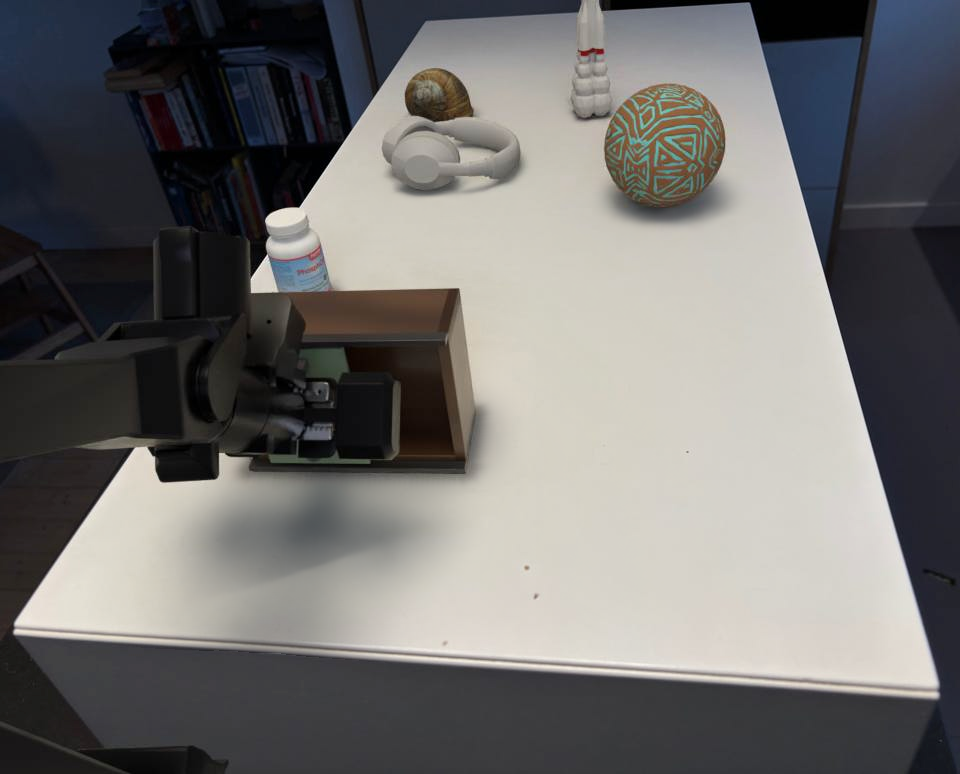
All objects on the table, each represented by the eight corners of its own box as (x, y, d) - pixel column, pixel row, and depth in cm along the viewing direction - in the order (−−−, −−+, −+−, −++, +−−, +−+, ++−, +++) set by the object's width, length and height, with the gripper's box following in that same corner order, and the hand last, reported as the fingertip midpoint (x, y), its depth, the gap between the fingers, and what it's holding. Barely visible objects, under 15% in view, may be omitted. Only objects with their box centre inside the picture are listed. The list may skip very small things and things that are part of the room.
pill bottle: (318, 320, 93) (295, 232, 86) (273, 313, 95) (247, 227, 88) (343, 292, 97) (323, 206, 90) (300, 286, 99) (276, 202, 92)
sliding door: (360, 495, 69) (329, 378, 61) (257, 493, 71) (213, 379, 63) (371, 459, 73) (343, 344, 65) (272, 458, 74) (233, 345, 66)
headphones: (403, 205, 112) (537, 191, 118) (402, 150, 108) (541, 138, 114) (373, 159, 126) (494, 148, 132) (370, 108, 122) (496, 99, 127)
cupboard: (465, 473, 71) (445, 339, 62) (249, 471, 74) (200, 343, 65) (476, 412, 78) (459, 283, 69) (276, 413, 81) (235, 289, 72)
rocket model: (597, 125, 130) (595, -89, 112) (560, 118, 134) (552, -90, 116) (622, 110, 134) (624, -99, 116) (585, 103, 138) (581, -100, 120)
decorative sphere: (738, 188, 108) (751, 74, 99) (688, 238, 100) (697, 117, 90) (638, 169, 116) (640, 61, 107) (583, 213, 107) (580, 99, 98)
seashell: (404, 130, 137) (397, 82, 132) (411, 110, 144) (404, 64, 139) (471, 125, 135) (466, 77, 130) (475, 105, 143) (470, 58, 138)
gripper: (371, 281, 52) (424, 326, 67) (102, 287, 55) (212, 329, 70) (365, 457, 51) (421, 461, 66) (91, 454, 53) (206, 458, 69)
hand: (313, 423), depth 68 cm, fingers closed on sliding door, 2 cm apart
